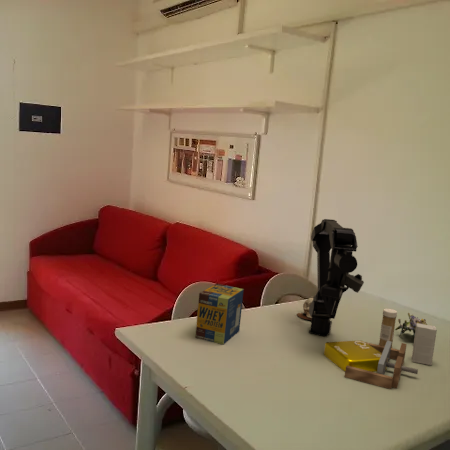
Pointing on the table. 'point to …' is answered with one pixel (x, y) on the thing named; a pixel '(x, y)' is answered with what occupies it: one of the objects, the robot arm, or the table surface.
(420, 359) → the skincare box
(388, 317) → the sprinkles bottle
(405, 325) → the passion flower
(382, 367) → the pusher
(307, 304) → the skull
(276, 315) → the table surface
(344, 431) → the table surface
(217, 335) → the protein box
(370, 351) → the element tile
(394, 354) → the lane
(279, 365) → the table surface
